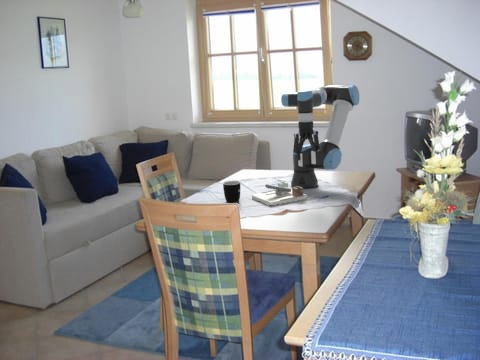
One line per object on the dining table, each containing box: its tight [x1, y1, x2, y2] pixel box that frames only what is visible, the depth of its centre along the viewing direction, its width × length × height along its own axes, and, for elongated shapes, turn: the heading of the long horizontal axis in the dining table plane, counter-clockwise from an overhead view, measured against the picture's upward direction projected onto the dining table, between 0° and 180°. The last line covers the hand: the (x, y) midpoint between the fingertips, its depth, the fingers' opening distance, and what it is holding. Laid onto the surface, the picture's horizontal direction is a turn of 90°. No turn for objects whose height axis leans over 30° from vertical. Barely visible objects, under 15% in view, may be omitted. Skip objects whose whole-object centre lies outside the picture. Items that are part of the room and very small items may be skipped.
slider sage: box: [277, 180, 289, 191], centre depth 303 cm, size 4×4×5 cm
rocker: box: [265, 183, 292, 192], centre depth 294 cm, size 14×4×2 cm, turn 119°
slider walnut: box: [291, 186, 304, 196], centre depth 290 cm, size 4×4×5 cm
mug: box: [222, 180, 241, 204], centre depth 295 cm, size 12×9×10 cm
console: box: [251, 189, 308, 206], centre depth 294 cm, size 22×19×4 cm
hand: (307, 164), depth 291 cm, fingers open, 8 cm apart
